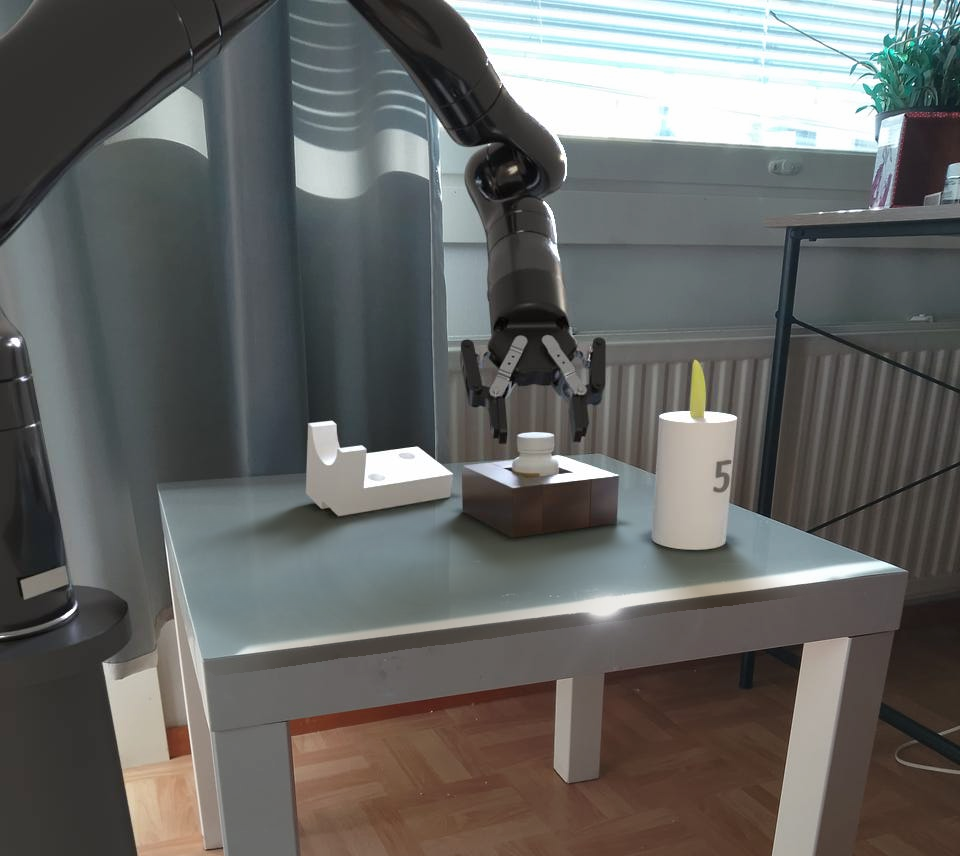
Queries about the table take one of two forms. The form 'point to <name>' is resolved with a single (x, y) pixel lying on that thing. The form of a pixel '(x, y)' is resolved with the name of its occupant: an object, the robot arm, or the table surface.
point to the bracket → (369, 474)
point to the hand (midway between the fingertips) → (540, 437)
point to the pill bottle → (535, 455)
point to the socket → (539, 497)
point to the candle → (693, 473)
